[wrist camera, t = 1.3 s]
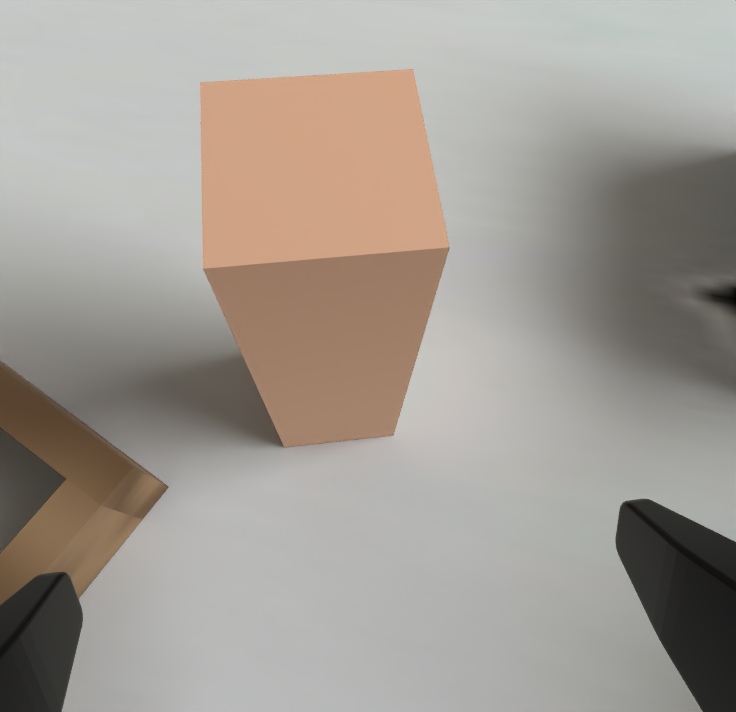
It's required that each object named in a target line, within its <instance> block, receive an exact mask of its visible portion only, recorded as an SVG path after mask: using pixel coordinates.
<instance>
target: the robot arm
mask: <svg viewBox="0 0 736 712" xmlns="http://www.w3.org/2000/svg"><path fill="white" fill-rule="evenodd" d="M616 548H617V552H618V555H619V557H620V559H621V561H622V563H623V565H624V567H625V569H626V571H627V574H628V576H629V578H630V580H631V582H632V584H633V586H634V588H635V590H636V592H637V594H638V597H639V599H640V601H641V603H642V605H643V607H644V609H645V611H646V613H647V615H648V617H649V620H650V622H651V624H652V626H653V628H654V630H655V632H656V634H657V636H658V637H659V639H660V641H661V643H662V645H663V646H664V648H665V650H666V652H667V653H668V655H669V657H670V658H671V660H672V662H673V663H674V665H675V667H676V668H677V670H678V671H679V673H680V675H681V676H682V678H683V680H684V681H685V683H686V685H687V686H688V688H689V690H690V691H691V693H692V695H693V696H694V698H695V699H696V701H697V703H698V704H699V706H700V708H701V709H702V711H703V712H736V542H734V541H732V540H730V539H728V538H726V537H724V536H722V535H720V534H718V533H716V532H714V531H712V530H710V529H708V528H706V527H704V526H702V525H700V524H698V523H696V522H694V521H692V520H690V519H688V518H686V517H684V516H682V515H680V514H678V513H676V512H674V511H672V510H670V509H668V508H666V507H664V506H662V505H660V504H658V503H655V502H653V501H651V500H649V499H637V500H629V501H625V502H623V503H622V505H621V506H620V511H619V518H618V525H617V532H616ZM82 622H83V613H82V608H81V605H80V602H79V599H78V597H77V594H76V591H75V588H74V585H73V582H72V580H71V577H70V575H69V574H68V573H66V572H62V571H61V572H53V573H45V574H40V575H38V576H36V577H34V578H33V579H32V580H30V581H29V582H28V583H27V584H26V585H24V586H23V587H22V588H21V589H19V590H18V591H17V592H16V593H14V594H13V595H12V596H11V597H9V598H8V599H7V600H6V601H5V602H3V603H2V604H1V605H0V712H62V708H63V704H64V699H65V695H66V691H67V687H68V683H69V678H70V674H71V670H72V666H73V662H74V657H75V653H76V649H77V645H78V641H79V636H80V632H81V628H82Z"/></svg>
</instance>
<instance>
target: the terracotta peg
mask: <svg viewBox="0 0 736 712" xmlns="http://www.w3.org/2000/svg"><path fill="white" fill-rule="evenodd" d="M200 95H201V161H202V227H203V270H204V272H205V274H206V276H207V278H208V281H209V283H210V285H211V287H212V289H213V292H214V294H215V296H216V298H217V300H218V303H219V305H220V307H221V309H222V311H223V314H224V316H225V318H226V320H227V322H228V325H229V327H230V329H231V331H232V333H233V336H234V338H235V340H236V342H237V344H238V347H239V349H240V351H241V353H242V355H243V358H244V360H245V362H246V364H247V366H248V369H249V371H250V373H251V375H252V377H253V380H254V382H255V384H256V386H257V388H258V391H259V393H260V395H261V397H262V399H263V402H264V404H265V406H266V408H267V410H268V413H269V415H270V417H271V419H272V421H273V424H274V426H275V428H276V430H277V433H278V435H279V437H280V439H281V441H282V444H283V446H284V447H292V446H301V445H310V444H319V443H328V442H337V441H346V440H355V439H364V438H373V437H382V436H391V435H394V432H395V428H396V425H397V422H398V418H399V415H400V412H401V408H402V405H403V402H404V398H405V395H406V391H407V388H408V385H409V381H410V378H411V375H412V371H413V368H414V365H415V361H416V358H417V355H418V351H419V348H420V345H421V341H422V338H423V335H424V331H425V328H426V325H427V321H428V318H429V314H430V311H431V308H432V304H433V301H434V298H435V294H436V291H437V288H438V284H439V281H440V278H441V274H442V271H443V268H444V264H445V261H446V258H447V254H448V251H449V248H450V247H449V242H448V237H447V232H446V227H445V223H444V218H443V213H442V208H441V203H440V198H439V193H438V189H437V184H436V179H435V174H434V169H433V164H432V159H431V154H430V150H429V145H428V140H427V135H426V130H425V125H424V120H423V116H422V111H421V106H420V101H419V96H418V91H417V86H416V81H415V77H414V72H413V69H409V70H393V71H377V72H361V73H345V74H329V75H313V76H297V77H281V78H265V79H249V80H233V81H216V82H200Z"/></svg>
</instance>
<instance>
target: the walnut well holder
mask: <svg viewBox="0 0 736 712" xmlns="http://www.w3.org/2000/svg"><path fill="white" fill-rule="evenodd" d="M0 428H2V429H3V430H4V431H6V432H7V433H8V434H9V435H11V436H12V437H13V438H15V439H16V440H17V441H18V442H20V443H21V444H22V445H24V446H25V447H26V448H27V449H29V450H30V451H31V452H33V453H34V454H35V455H36V456H38V457H39V458H40V459H41V460H43V461H44V462H45V463H47V464H48V465H49V466H50V467H52V468H53V469H54V470H56V471H57V472H58V473H59V474H61V475H62V476H63V477H65V478H66V480H65V481H64V482H63V483H62V484H61V485H60V487H59V488H58V489H57V490H56V491H55V492H54V493H53V495H52V496H51V497H50V498H49V499H48V500H47V501H46V502H45V504H44V505H43V506H42V507H41V508H40V509H39V510H38V512H37V513H36V514H35V515H34V516H33V517H32V518H31V519H30V521H29V522H28V523H27V524H26V525H25V526H24V527H23V528H22V530H21V531H20V532H19V533H18V534H17V535H16V536H15V538H14V539H13V540H12V541H11V542H10V543H9V544H8V545H7V547H6V548H5V549H4V550H3V551H2V552H1V553H0V605H1V604H2V603H3V602H5V601H6V600H7V599H8V598H9V597H11V596H12V595H13V594H14V593H16V592H17V591H18V590H19V589H21V588H22V587H23V586H24V585H26V584H27V583H28V582H29V581H30V580H32V579H33V578H34V577H36V576H38V575H40V574H45V573H53V572H61V571H62V572H66V573H68V574H69V575H70V577H71V580H72V582H73V585H74V588H75V591H76V594H77V597H78V599H79V597H80V596H81V595H82V594H83V592H84V591H85V590H86V589H87V587H88V586H89V585H90V584H91V582H92V581H93V580H94V579H95V578H96V576H97V575H98V574H99V573H100V571H101V570H102V569H103V568H104V566H105V565H106V564H107V563H108V561H109V560H110V559H111V558H112V556H113V555H114V554H115V553H116V552H117V550H118V549H119V548H120V547H121V545H122V544H123V543H124V542H125V540H126V539H127V538H128V537H129V535H130V534H131V533H132V532H133V530H134V529H135V528H136V527H137V526H138V524H139V523H140V522H141V521H142V519H143V518H144V517H145V516H146V514H147V513H148V512H149V511H150V509H151V508H152V507H153V506H154V504H155V503H156V502H157V501H158V500H159V498H160V497H161V496H162V495H163V493H164V492H165V491H166V490H167V488H168V486H167V485H166V484H164V483H163V482H162V481H160V480H159V479H158V478H156V477H155V476H154V475H152V474H151V473H150V472H148V471H147V470H146V469H144V468H143V467H142V466H140V465H139V464H138V463H136V462H135V461H134V460H132V459H131V458H130V457H128V456H127V455H126V454H124V453H123V452H122V451H120V450H119V449H118V448H116V447H115V446H114V445H112V444H111V443H110V442H108V441H107V440H106V439H104V438H103V437H102V436H100V435H99V434H98V433H96V432H95V431H94V430H92V429H91V428H89V427H88V426H87V425H85V424H84V423H83V422H81V421H80V420H79V419H77V418H76V417H75V416H73V415H72V414H71V413H69V412H68V411H67V410H65V409H64V408H63V407H61V406H60V405H59V404H57V403H56V402H55V401H53V400H52V399H51V398H49V397H48V396H47V395H45V394H44V393H43V392H41V391H40V390H39V389H37V388H36V387H35V386H33V385H32V384H31V383H29V382H28V381H27V380H25V379H24V378H23V377H21V376H20V375H19V374H17V373H16V372H15V371H13V370H12V369H11V368H9V367H8V366H7V365H5V364H4V363H3V362H1V361H0Z"/></svg>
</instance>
